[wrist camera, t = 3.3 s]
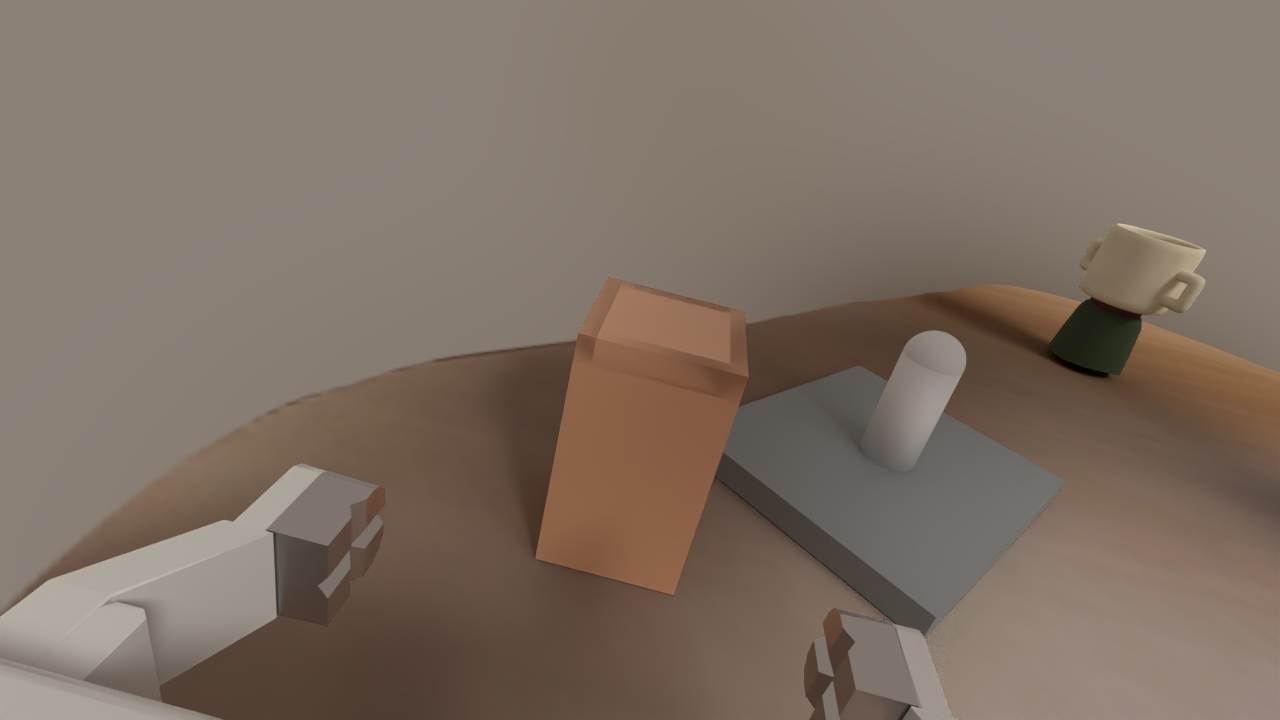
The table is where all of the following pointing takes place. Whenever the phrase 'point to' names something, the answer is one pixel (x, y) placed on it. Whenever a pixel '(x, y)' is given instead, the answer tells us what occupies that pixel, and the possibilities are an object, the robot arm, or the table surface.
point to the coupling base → (887, 480)
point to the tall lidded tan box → (642, 433)
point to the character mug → (1126, 294)
